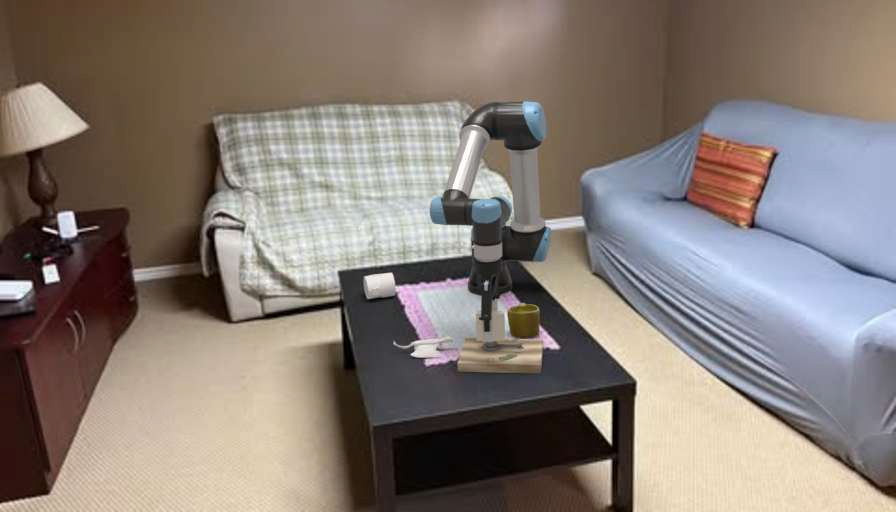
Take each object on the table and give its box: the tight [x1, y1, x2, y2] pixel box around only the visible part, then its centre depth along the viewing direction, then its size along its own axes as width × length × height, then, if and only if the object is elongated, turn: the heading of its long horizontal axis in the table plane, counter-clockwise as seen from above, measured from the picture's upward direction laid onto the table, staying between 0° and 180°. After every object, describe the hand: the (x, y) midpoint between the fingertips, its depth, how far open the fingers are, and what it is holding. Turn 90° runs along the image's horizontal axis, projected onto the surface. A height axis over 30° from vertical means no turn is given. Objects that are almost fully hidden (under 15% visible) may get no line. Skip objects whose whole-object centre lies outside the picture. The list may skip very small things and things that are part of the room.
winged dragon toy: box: [392, 336, 455, 359], centre depth 218 cm, size 18×10×4 cm, turn 93°
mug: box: [506, 302, 541, 339], centre depth 226 cm, size 12×10×10 cm
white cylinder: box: [363, 272, 396, 300], centre depth 261 cm, size 12×9×8 cm
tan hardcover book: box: [457, 337, 544, 375], centre depth 211 cm, size 16×22×3 cm
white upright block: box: [475, 310, 522, 351], centre depth 211 cm, size 5×12×10 cm, turn 81°
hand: (490, 331), depth 211 cm, fingers open, 13 cm apart
